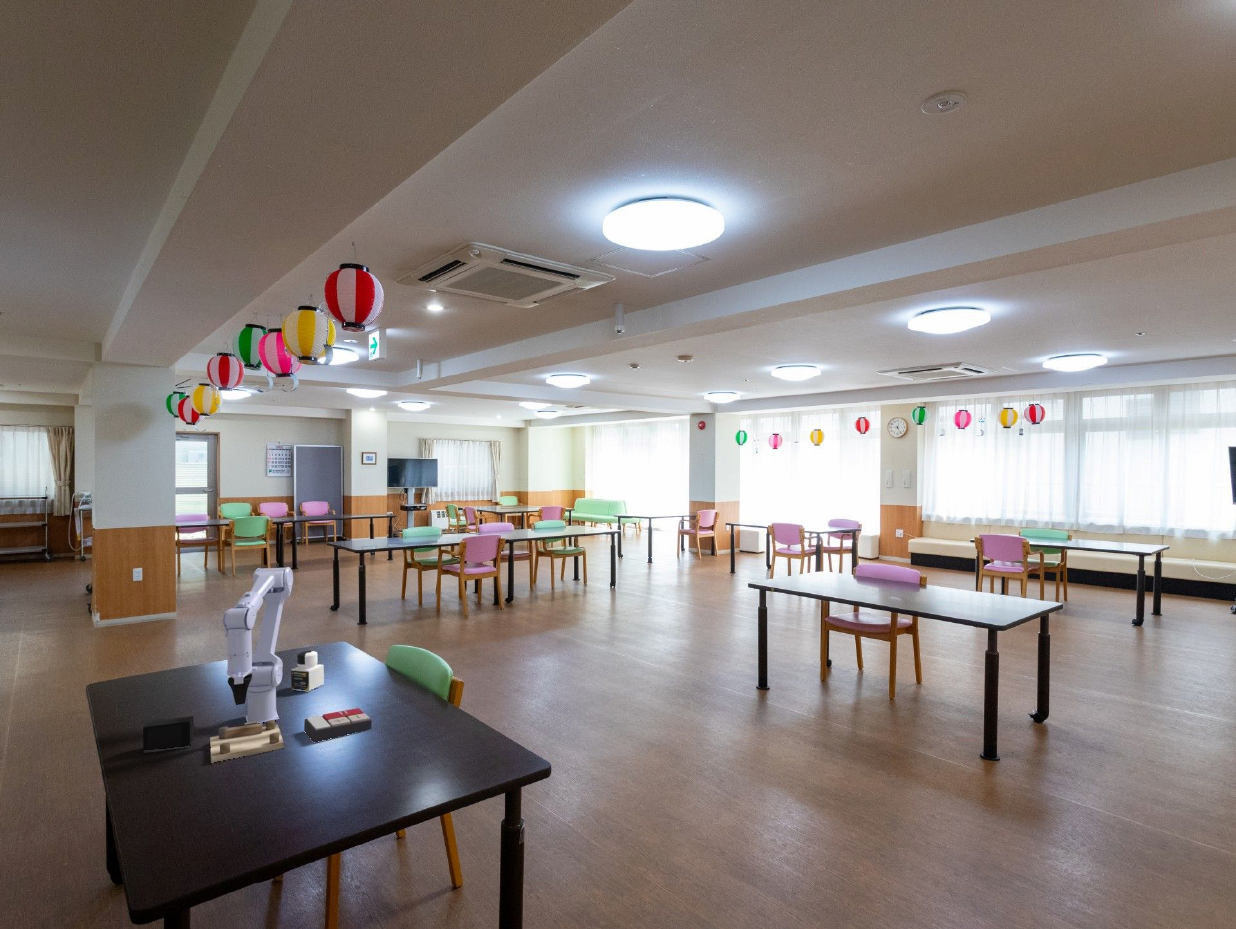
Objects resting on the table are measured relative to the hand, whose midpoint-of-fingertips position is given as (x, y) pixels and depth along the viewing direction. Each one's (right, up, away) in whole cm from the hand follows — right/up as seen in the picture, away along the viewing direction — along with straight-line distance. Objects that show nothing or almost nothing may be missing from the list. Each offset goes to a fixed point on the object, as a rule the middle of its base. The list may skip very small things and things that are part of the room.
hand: (240, 703), depth 180 cm
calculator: (+24, -10, +5) cm, 26 cm away
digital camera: (-16, -10, -4) cm, 19 cm away
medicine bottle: (-1, -10, +42) cm, 43 cm away
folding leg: (+1, -8, -1) cm, 8 cm away
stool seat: (+4, -9, -5) cm, 11 cm away
